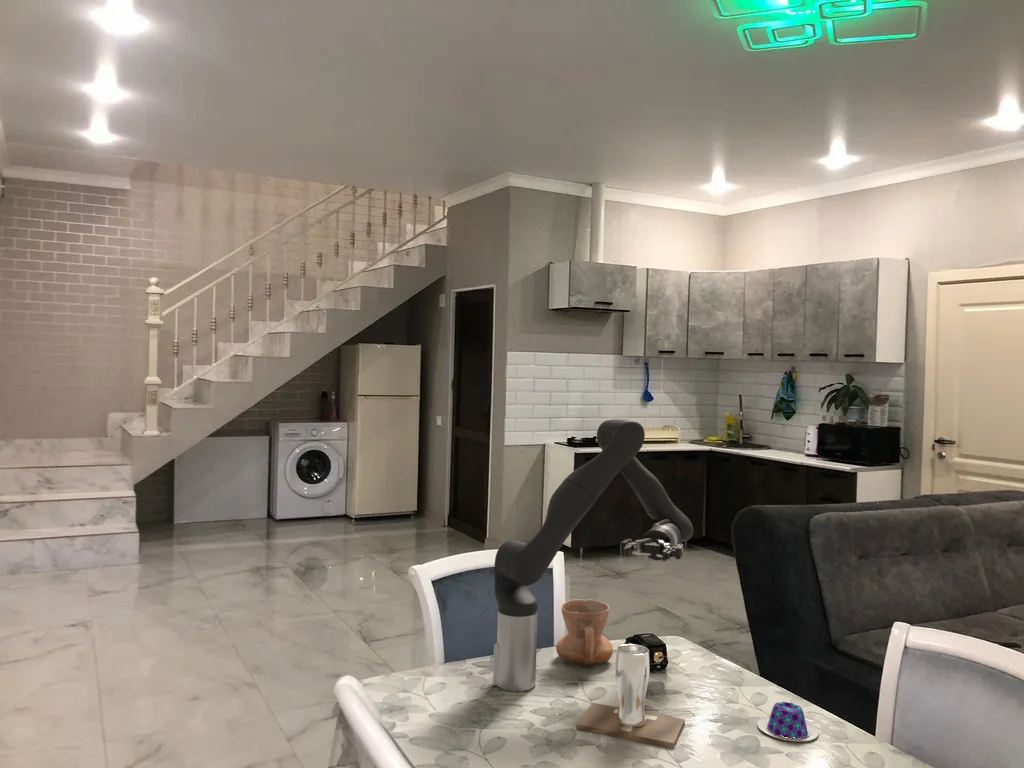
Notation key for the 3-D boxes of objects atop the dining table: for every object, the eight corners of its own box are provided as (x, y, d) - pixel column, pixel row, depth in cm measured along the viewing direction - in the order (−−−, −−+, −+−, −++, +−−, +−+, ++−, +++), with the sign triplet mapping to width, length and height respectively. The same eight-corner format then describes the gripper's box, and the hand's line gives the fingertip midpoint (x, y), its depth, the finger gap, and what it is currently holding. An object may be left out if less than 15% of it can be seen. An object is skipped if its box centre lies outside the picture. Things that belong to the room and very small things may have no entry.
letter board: (576, 728, 164) (576, 723, 164) (592, 707, 175) (592, 702, 175) (673, 748, 156) (673, 742, 156) (684, 724, 167) (684, 719, 167)
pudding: (830, 743, 161) (830, 717, 161) (775, 746, 159) (776, 720, 159) (798, 718, 173) (799, 693, 173) (746, 720, 171) (747, 696, 171)
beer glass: (647, 730, 162) (649, 656, 162) (612, 726, 163) (614, 653, 163) (648, 716, 168) (650, 645, 168) (615, 712, 170) (617, 642, 170)
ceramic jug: (554, 648, 213) (555, 595, 212) (609, 649, 212) (610, 596, 212) (557, 674, 195) (558, 617, 194) (617, 676, 194) (618, 618, 194)
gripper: (632, 524, 201) (615, 535, 186) (689, 529, 196) (677, 541, 181) (631, 553, 201) (614, 567, 186) (688, 560, 196) (676, 574, 181)
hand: (645, 554), depth 183 cm, fingers open, 8 cm apart
